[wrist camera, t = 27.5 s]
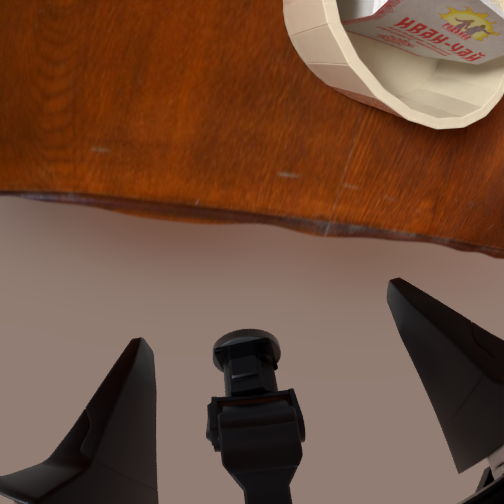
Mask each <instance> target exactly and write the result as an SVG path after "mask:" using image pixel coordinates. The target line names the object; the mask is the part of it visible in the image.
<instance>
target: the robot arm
mask: <svg viewBox="0 0 504 504" xmlns="http://www.w3.org/2000/svg"><path fill="white" fill-rule="evenodd" d="M387 302H388V305H389V307H390V310H391V312H392V315H393V318H394V320H395V323H396V326H397V328H398V331H399V334H400V336H401V338H402V341H403V343H404V345H405V347H406V349H407V351H408V353H409V355H410V357H411V359H412V361H413V363H414V366H415V368H416V370H417V372H418V374H419V376H420V378H421V381H422V383H423V385H424V387H425V390H426V392H427V394H428V396H429V399H430V401H431V403H432V406H433V408H434V411H435V413H436V415H437V418H438V420H439V423H440V425H441V428H442V430H443V433H444V436H445V438H446V441H447V443H448V446H449V449H450V451H451V454H452V457H453V460H454V463H455V465H456V468H457V471H458V473H459V474H460V473H462V472H464V471H465V470H467V469H469V468H471V467H472V466H474V465H475V464H477V463H479V462H480V461H482V460H483V459H485V458H487V460H488V463H489V465H490V466H489V467H487V468H486V469H485V470H484V473H483V475H482V477H481V480H480V482H479V485H478V487H477V490H476V492H475V493H474V494H473V495H471V496H469V497H468V498H466V499H464V500H463V501H461V502H459V503H457V504H504V340H502V339H500V338H498V337H496V336H495V335H493V334H491V333H489V332H488V331H486V330H484V329H483V328H481V327H479V326H478V325H476V324H475V323H473V322H471V321H470V320H468V319H467V318H465V317H464V316H462V315H461V314H459V313H457V312H456V311H454V310H453V309H451V308H449V307H448V306H446V305H444V304H443V303H441V302H440V301H438V300H436V299H435V298H433V297H432V296H430V295H428V294H427V293H425V292H423V291H422V290H420V289H418V288H417V287H415V286H413V285H412V284H410V283H408V282H407V281H405V280H403V279H401V278H395V279H392V280H390V281H389V283H388V290H387ZM214 355H215V357H216V359H217V360H218V362H219V364H220V366H221V368H222V370H223V372H224V380H225V381H224V382H225V395H226V397H212V401H211V403H210V404H209V405H208V406H207V407H208V421H207V430H206V438H207V439H208V440H209V441H211V442H212V445H213V446H214V450H215V452H221V457H222V464H223V466H224V467H225V469H226V470H227V471H228V472H229V474H230V475H231V476H232V477H233V479H234V480H235V481H236V482H237V483H238V484H239V486H240V487H241V488H242V489H243V491H244V497H245V504H292V499H291V493H290V487H289V485H290V483H291V480H292V478H293V476H294V474H295V472H296V469H297V467H298V466H299V464H300V461H301V459H302V455H303V454H302V447H301V442H304V441H305V425H304V420H303V416H302V412H301V410H300V407H299V404H298V401H297V398H296V395H295V392H294V389H288V390H284V391H278V388H277V383H276V377H275V373H274V371H275V370H277V369H278V365H277V361H276V358H275V354H274V350H273V347H272V343H271V339H270V338H262V339H257V340H252V341H248V342H243V343H238V344H233V345H228V346H223V347H218V348H215V349H214ZM0 495H2V496H5V497H7V498H9V499H12V500H14V504H158V491H157V465H156V379H155V365H154V355H153V351H152V349H151V348H150V347H149V345H148V344H147V342H146V341H145V340H144V338H141V337H140V338H134V339H132V340H131V341H130V343H129V344H128V346H127V347H126V348H125V350H124V352H123V353H122V354H121V356H120V357H119V359H118V360H117V361H116V363H115V364H114V366H113V367H112V369H111V370H110V372H109V373H108V375H107V376H106V378H105V379H104V381H103V382H102V384H101V385H100V387H99V388H98V390H97V391H96V393H95V394H94V396H93V397H92V399H91V400H90V402H89V403H88V405H87V406H86V409H84V411H83V413H82V414H81V416H80V417H79V418H78V420H77V421H76V423H75V424H74V426H73V427H72V429H71V430H70V432H69V433H68V434H67V435H66V437H65V438H64V439H63V440H62V442H61V443H60V444H59V446H58V447H57V448H56V450H55V451H54V452H53V453H52V455H51V456H50V457H49V458H48V459H47V460H45V461H44V462H42V463H40V464H37V465H35V466H32V467H29V468H26V469H24V470H21V471H18V472H15V473H12V474H9V475H5V476H0Z"/></svg>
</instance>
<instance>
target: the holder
mask: <svg viewBox="0 0 504 504" xmlns="http://www.w3.org/2000/svg"><path fill="white" fill-rule="evenodd" d="M490 1H491V2H492V3H493V4H495V5H496V6H497V7H498V8H500V9H501V10H502V11H503V12H504V0H490ZM283 13H284V20H285V25H286V28H287V31H288V35H289V37H290V39H291V41H292V44H293V46H294V48H295V49H296V51H297V53H298V54H299V56H300V57H301V59H302V60H303V61H304V63H305V64H306V65H307V67H308V68H309V69H310V70H311V71H312V72H313V73H314V74H315V75H316V76H317V77H318V78H319V79H321V80H322V81H323V82H324V83H325V84H327V85H328V86H330V87H331V88H333V89H334V90H336V91H338V92H339V93H341V94H343V95H345V96H347V97H349V98H351V99H353V100H355V101H358V102H361V103H364V104H367V105H370V106H373V107H375V108H378V109H381V110H384V111H386V112H389V113H391V114H394V115H396V116H399V117H401V118H404V119H406V120H409V121H412V122H415V123H418V124H421V125H425V126H428V127H431V128H434V129H452V128H463V127H466V126H468V125H470V124H472V123H474V122H476V121H478V120H480V119H482V118H484V117H485V116H486V115H487V114H488V113H489V112H490V111H491V110H492V109H493V107H494V106H495V105H496V104H497V103H498V102H499V100H500V99H501V98H502V96H503V93H504V55H503V56H500V57H497V58H494V59H491V60H489V61H486V62H483V63H481V64H478V65H476V64H471V63H466V62H460V61H453V60H447V59H439V58H431V57H422V56H416V55H414V54H411V53H409V52H406V51H404V50H401V49H399V48H396V47H393V46H391V45H388V44H385V43H382V42H379V41H376V40H373V39H370V38H367V37H364V36H361V35H358V34H354V33H351V32H347V31H345V29H344V27H343V26H342V24H341V21H340V16H339V12H338V7H337V3H336V0H283Z"/></svg>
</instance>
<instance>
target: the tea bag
mask: <svg viewBox="0 0 504 504" xmlns="http://www.w3.org/2000/svg"><path fill="white" fill-rule="evenodd" d="M336 3H337V7H338V12H339V16H340V21H341V24H342V26H343V27H344V29H345V31H347V32H351V33H354V34H358V35H361V36H364V37H367V38H370V39H373V40H376V41H379V42H382V43H385V44H388V45H391V46H393V47H396V48H399V49H401V50H404V51H406V52H409V53H411V54H414V55H416V56H422V57H431V58H439V59H447V60H453V61H460V62H466V63H471V64H476V65H478V64H481V63H483V62H486V61H489V60H491V59H494V58H497V57H500V56H503V55H504V12H503V11H502V10H501V9H500V8H498V7H497V6H496V5H495V4H493V3H492V2H491V1H490V0H336Z"/></svg>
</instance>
